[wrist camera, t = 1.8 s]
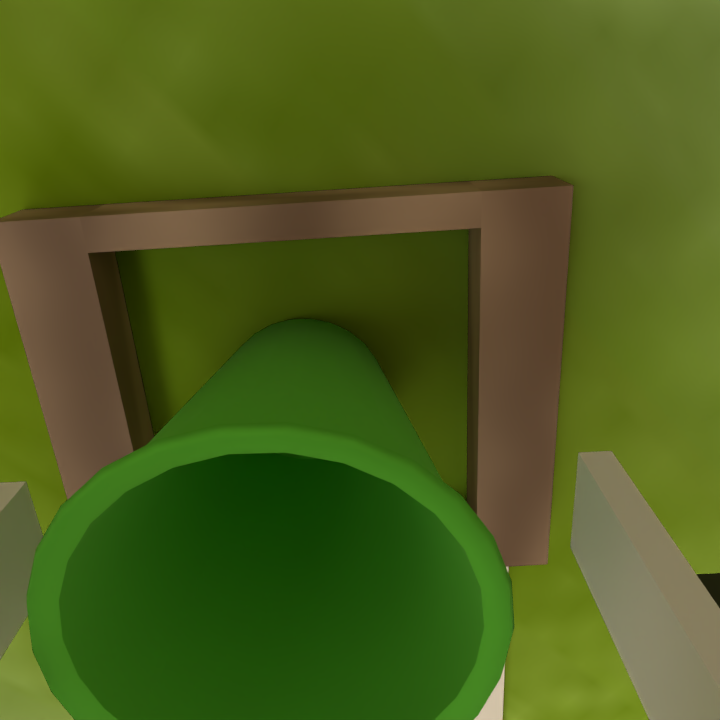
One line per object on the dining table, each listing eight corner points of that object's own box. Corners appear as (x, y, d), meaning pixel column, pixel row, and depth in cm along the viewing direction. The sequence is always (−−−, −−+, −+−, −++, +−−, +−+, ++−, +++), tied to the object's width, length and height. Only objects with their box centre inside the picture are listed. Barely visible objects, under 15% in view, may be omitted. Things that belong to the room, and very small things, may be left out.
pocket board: (112, 553, 25) (93, 591, 23) (22, 209, 20) (-12, 222, 18) (532, 527, 25) (547, 563, 23) (552, 175, 19) (573, 185, 18)
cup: (492, 391, 22) (613, 648, 12) (304, 538, 25) (275, 857, 14) (309, 195, 20) (269, 316, 9) (117, 381, 22) (-81, 639, 12)
